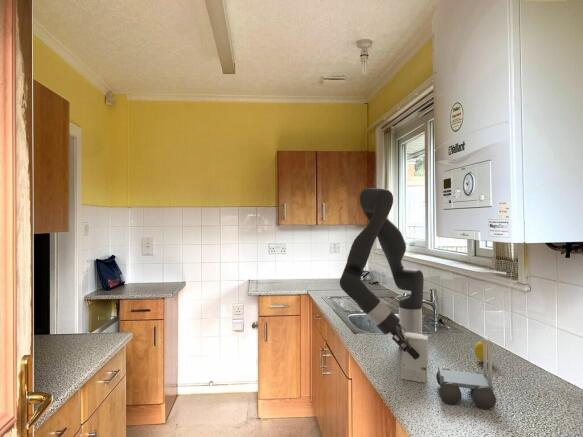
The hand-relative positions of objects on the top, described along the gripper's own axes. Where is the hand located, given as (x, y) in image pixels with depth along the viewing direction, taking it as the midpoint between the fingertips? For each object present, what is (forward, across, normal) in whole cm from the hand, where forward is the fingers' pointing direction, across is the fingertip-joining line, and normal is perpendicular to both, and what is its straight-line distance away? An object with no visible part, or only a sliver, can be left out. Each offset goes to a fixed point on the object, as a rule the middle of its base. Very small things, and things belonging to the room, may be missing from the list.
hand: (417, 353), depth 127 cm
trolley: (+15, -10, -3) cm, 19 cm away
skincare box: (+6, 0, +7) cm, 9 cm away
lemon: (+23, +22, -11) cm, 34 cm away
